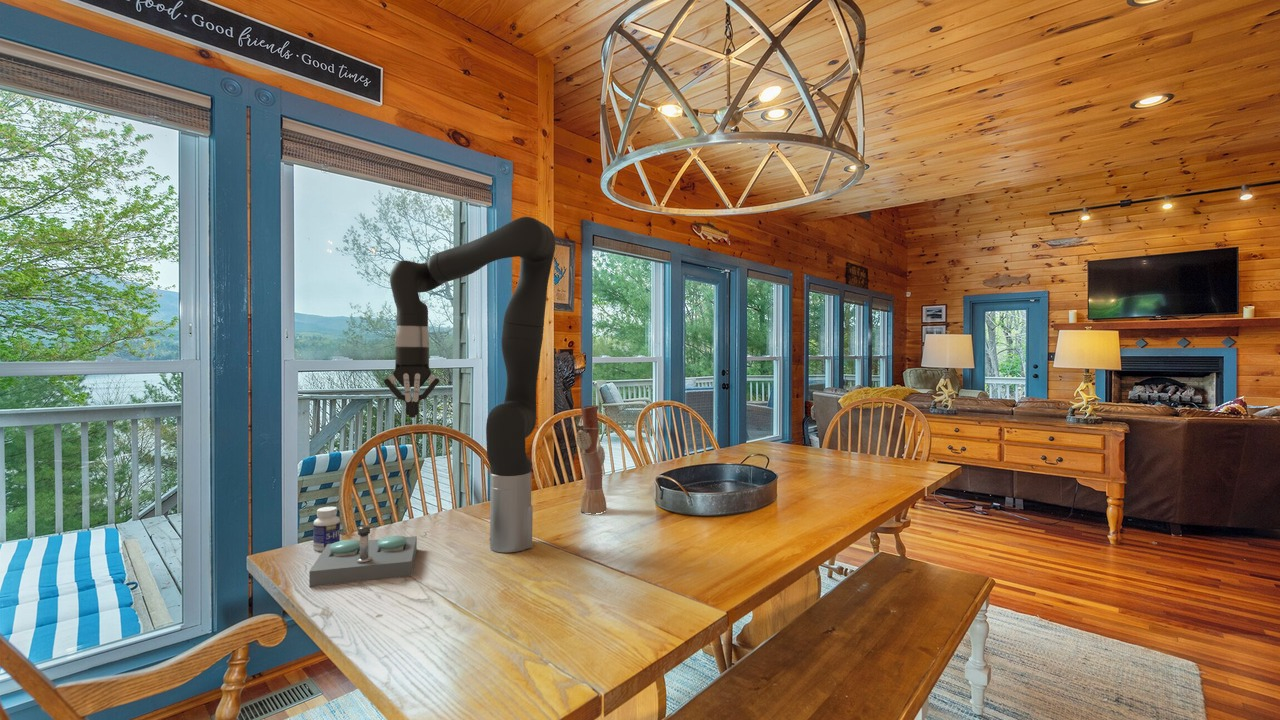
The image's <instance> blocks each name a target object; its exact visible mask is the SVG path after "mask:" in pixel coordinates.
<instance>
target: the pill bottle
mask: <svg viewBox="0 0 1280 720" xmlns="http://www.w3.org/2000/svg"><path fill="white" fill-rule="evenodd" d="M337 514H338V507H337V506H324V507H320V508H318V509H317V510H316V516H317V518H316V519H314V520H313V528H312V529H313V532H312V533H313V535H312V536H313V542H312V543H313V544H312V545H313V551H316V552H323V550H324V549H325V547H326V546H327V544H331V543H335V542H338V541H341V539H340V538H341V535H340V534H341V520H340V518H339V517H338V516H337Z"/></svg>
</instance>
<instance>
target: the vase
mask: <svg viewBox="0 0 1280 720" xmlns="http://www.w3.org/2000/svg"><path fill="white" fill-rule="evenodd" d="M599 408H600V407H599V405H598V404H594V405H591V406H582V407H581V409H580V410H581V417H582V418H581V419H582V426H583V428H582V429H580V430H578V431H577V433H576V445H577V446H578V448H579V449H580V455H581V459H582V462H583V466H584V469H585V481H586V482H585V489H584V492H583V495H582V498H581V502H580V510H581V511H582V512H584V513H591V514H596V513H601V512H604V511H606V510H607V501H606V496H605V493H604V489H603V468H602V467H603V465H604V464H605V463H604V462H605V459H606V454H605V449H604V447H603V446H602V445H598V438H599V432H600V431H599V430H600V423H599V418H598V410H599ZM581 511H580V512H581ZM582 512H581V513H582ZM606 512H607V511H606Z"/></svg>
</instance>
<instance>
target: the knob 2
mask: <svg viewBox="0 0 1280 720" xmlns="http://www.w3.org/2000/svg"><path fill="white" fill-rule="evenodd" d="M406 537H407V536H403V535H390V536H385V537H382V538H380V540H378V539H377V540H378V548H381V552H387V551H398V550H403V546H404V545H406Z"/></svg>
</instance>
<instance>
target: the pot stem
mask: <svg viewBox="0 0 1280 720" xmlns="http://www.w3.org/2000/svg"><path fill="white" fill-rule="evenodd" d="M370 533H371V525H362V526H361V525H360V526H358V527H357V535H358V536H359V541H360V557H358V558H357V559H356V562H357V563H367V562H370V561H371V560H372V557H371V556H368V552H369V540H370V539H369V538H370V537H369V534H370Z"/></svg>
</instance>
